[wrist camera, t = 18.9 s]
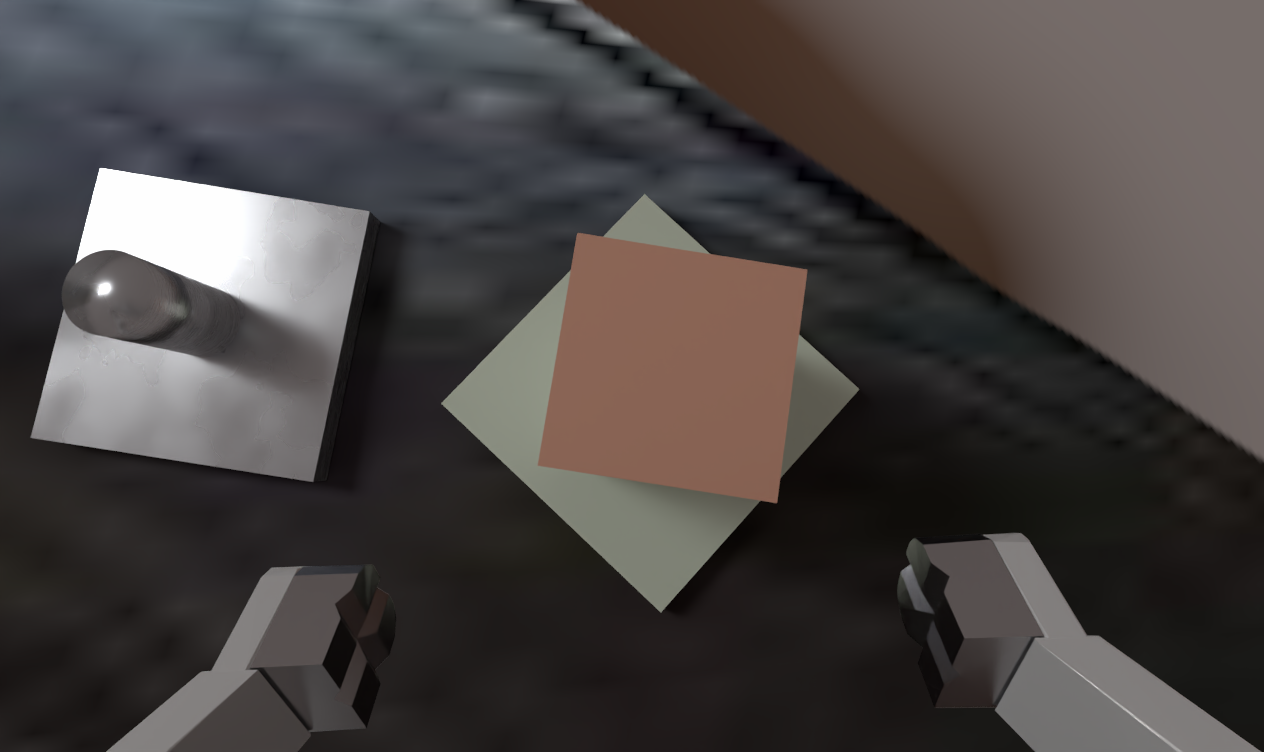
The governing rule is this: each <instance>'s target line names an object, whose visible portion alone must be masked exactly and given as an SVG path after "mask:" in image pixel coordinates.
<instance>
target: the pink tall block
mask: <svg viewBox="0 0 1264 752" xmlns="http://www.w3.org/2000/svg"><path fill="white" fill-rule="evenodd" d="M806 276H807V270H806V269H800V268H794V267H787V266H781V265H775V264H769V263H762V262H756V261H750V260H744V259H737V258H731V257H725V256H719V255H713V254H706V253H700V252H694V251H688V250H681V249H675V248H669V247H663V246H656V245H650V244H644V243H638V242H632V241H625V240H619V239H613V238H607V237H600V236H594V235H588V234H582V233H577V238H576V243H575V249H574V255H573V261H572V267H571V273H570V279H569V284H568V290H567V296H566V302H565V308H564V314H563V320H562V325H561V331H560V337H559V343H558V349H557V355H556V360H555V366H554V372H553V378H552V384H551V390H550V396H549V401H548V407H547V413H546V419H545V425H544V431H543V437H542V442H541V448H540V454H539V460H538V466H543V467H549V468H556V469H562V470H569V471H575V472H581V473H588V474H594V475H600V476H607V477H613V478H620V479H626V480H632V481H639V482H645V483H651V484H658V485H664V486H671V487H677V488H683V489H690V490H696V491H702V492H709V493H715V494H721V495H728V496H734V497H741V498H747V499H753V500H760V501H766V502H772V503H777V500H778V492H779V484H780V477H781V469H782V461H783V453H784V446H785V438H786V430H787V423H788V415H789V407H790V400H791V392H792V384H793V376H794V369H795V361H796V353H797V346H798V338H799V330H800V323H801V315H802V307H803V300H804V292H805V284H806Z"/></svg>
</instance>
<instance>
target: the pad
mask: <svg viewBox="0 0 1264 752" xmlns="http://www.w3.org/2000/svg"><path fill="white" fill-rule="evenodd" d="M603 237H607V238H613V239H619V240H625V241H632V242H638V243H644V244H650V245H656V246H663V247H669V248H675V249H681V250H688V251H694V252H700V253H706V254H710V253H709V252H708V251H706V250H705V249H704V248H703V247H702V246H701V245H700V244H699V243H698V242H697V241H695V240H694V239H693V238H692V237H691V236H690V235H689V234H688V233H687V232H686V231H684V230H683V229H682V228H681V227H680V226H679V225H678V224H677V223H676V222H675V221H673V220H672V219H671V218H670V217H669V216H668V215H667V214H666V213H665V212H663V211H662V210H661V209H660V208H659V207H658V206H657V205H656V204H655V203H654V202H652V201H651V200H650V199H649V198H648V197H647V196H646V195H645V194H644V195H643V196H642V197H641V198H640V199H639V200H638V201H637V202H636V203H635V204H634V206H633V207H632V208H631V209H630V210H629V211H628V212H627V213H626V214H625V215H624V216H623V217H622V218H621V219H620V220H619V221H618V222H617V223H616V224H615V225H614V226H613V227H612V228H611V229H610V230H609V231H608V232H607V233H606V234H605V235H604V236H603ZM570 273H571V270H570V271H569V272H568V273H567V275H566V276H565V277H564V278H563V279H562V280H561V281H560V282H559V283H558V284H557V285H556V286H555V287H554V288H553V289H552V290H551V291H550V292H549V293H548V294H547V295H546V296H545V297H544V298H543V299H542V300H541V301H540V302H539V303H538V304H537V305H536V306H535V307H534V308H533V310H532V311H531V312H530V313H529V314H528V315H527V316H526V317H525V318H524V319H523V320H522V321H521V322H520V323H519V324H518V325H517V326H516V327H515V328H514V329H513V330H512V331H511V332H510V333H509V334H508V335H507V336H506V337H505V338H504V339H503V340H502V341H501V342H500V344H499V345H498V346H497V347H496V348H495V349H494V350H493V351H492V352H491V353H490V354H489V355H488V356H487V357H486V358H485V359H484V360H483V361H482V362H481V363H480V364H479V365H478V366H477V367H476V368H475V369H474V370H473V371H472V372H471V373H470V374H469V375H468V376H467V377H466V379H465V380H464V381H463V382H462V383H461V384H460V385H459V386H458V387H457V388H456V389H455V390H454V391H453V392H452V393H451V394H450V395H449V396H448V397H447V398H446V399H445V400H444V401H443V402H442V403H441V404H442V405H443V406H444V407H446V408H447V409H448V410H449V411H450V412H451V413H452V414H453V415H454V416H455V417H456V418H457V419H458V420H459V421H460V422H461V423H462V424H463V425H464V426H465V427H467V428H468V429H469V430H470V431H471V432H472V433H473V434H474V435H475V436H476V437H477V438H478V439H479V440H480V441H481V442H482V443H483V444H484V445H485V446H486V447H488V448H489V449H490V450H491V451H492V452H493V453H494V454H495V455H496V456H497V457H498V458H499V459H500V460H501V461H502V462H503V463H504V464H505V465H506V466H508V467H509V468H510V469H511V470H512V471H513V472H514V473H515V474H516V475H517V476H518V477H519V478H520V479H521V480H522V481H523V482H524V483H525V484H526V485H527V486H529V487H530V488H531V489H532V490H533V491H534V492H535V493H536V494H537V495H538V496H539V497H540V498H541V499H542V500H543V501H544V502H545V503H546V504H547V505H548V506H550V507H551V508H552V509H553V510H554V511H555V512H556V513H557V514H558V515H559V516H560V517H561V518H562V519H563V520H564V521H565V522H566V523H567V524H568V525H570V526H571V527H572V528H573V529H574V530H575V531H576V532H577V533H578V534H579V535H580V536H581V537H582V538H583V539H584V540H585V541H586V542H587V543H588V544H589V545H591V546H592V547H593V548H594V549H595V550H596V551H597V552H598V553H599V554H600V555H601V556H602V557H603V558H604V559H605V560H606V561H607V562H608V563H609V564H610V565H612V566H613V567H614V568H615V569H616V570H617V571H618V572H619V573H620V574H621V575H622V576H623V577H624V578H625V579H626V580H627V581H628V582H629V583H630V584H632V585H633V586H634V587H635V588H636V589H637V590H638V591H639V592H640V593H641V594H642V595H643V596H644V597H645V598H646V599H647V600H648V601H649V602H650V603H651V604H653V605H654V606H655V607H656V608H657V609H658V610H659V611H660V612H662V611H663V610H664V608H665V607H666V606H667V605H668V604H669V603H670V602H671V601H672V599H673V598H674V597H675V596H676V595H677V594H678V593H679V592H680V590H681V589H682V588H683V587H684V586H685V585H686V584H687V583H688V581H689V580H690V579H691V578H692V577H693V576H694V575H695V574H696V573H697V571H698V570H699V569H700V568H701V567H702V566H703V565H704V564H705V562H706V561H707V560H708V559H709V558H710V557H711V556H712V555H713V553H714V552H715V551H716V550H717V549H718V548H719V547H720V546H721V544H722V543H723V542H724V541H725V540H726V539H727V538H728V537H729V535H730V534H731V533H732V532H733V531H734V530H735V529H736V528H737V526H738V525H739V524H740V523H741V522H742V521H743V520H744V519H745V517H746V516H747V515H748V514H749V513H750V512H751V511H752V510H753V508H754V507H755V506H756V505H757V504H758V503H759V502H760V500H753V499H747V498H741V497H734V496H728V495H721V494H715V493H709V492H702V491H696V490H690V489H683V488H677V487H671V486H664V485H658V484H651V483H645V482H639V481H632V480H626V479H620V478H613V477H607V476H600V475H594V474H588V473H581V472H575V471H569V470H562V469H556V468H549V467H543V466H538V460H539V454H540V448H541V442H542V437H543V431H544V425H545V419H546V413H547V407H548V401H549V396H550V390H551V384H552V378H553V372H554V366H555V360H556V355H557V349H558V343H559V337H560V331H561V325H562V320H563V314H564V308H565V302H566V296H567V290H568V284H569V279H570ZM858 390H859V388H858V387H856V386H855V385H854V384H853V383H852V382H851V381H850V380H849V379H848V378H847V377H845V376H844V375H843V374H842V373H841V372H840V371H839V370H838V369H837V368H836V367H834V366H833V365H832V364H831V363H830V362H829V361H828V360H827V359H826V358H824V357H823V356H822V355H821V354H820V353H819V352H818V351H817V350H816V349H815V348H813V347H812V346H811V345H810V344H809V343H808V342H807V341H806V340H805V339H804V338H802V337H801V336H800V335H799V338H798V346H797V353H796V361H795V369H794V376H793V384H792V392H791V400H790V407H789V415H788V423H787V430H786V438H785V446H784V453H783V461H782V469H781V477H782V476H783V475H784V474H785V472H786V471H787V470H788V469H789V468H790V467H791V466H792V465H793V463H794V462H795V461H796V460H797V459H798V458H799V457H800V456H801V454H802V453H803V452H804V451H805V450H806V449H807V448H808V447H809V445H810V444H811V443H812V442H813V441H814V440H815V439H816V438H817V436H818V435H819V434H820V433H821V432H822V431H823V430H824V429H825V427H826V426H827V425H828V424H829V423H830V422H831V421H832V420H833V418H834V417H835V416H836V415H837V414H838V413H839V412H840V411H841V409H842V408H843V407H844V406H845V405H846V404H847V403H848V402H849V400H850V399H851V398H852V397H853V396H854V395H855V394H856V393H857V392H858ZM781 477H780V478H781Z"/></svg>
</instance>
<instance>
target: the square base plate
mask: <svg viewBox="0 0 1264 752" xmlns="http://www.w3.org/2000/svg"><path fill="white" fill-rule="evenodd" d="M379 225H380V221H379V220H378V219H377V218H376V217H375V216H374V215H373V214H372V213H371V212H370V211H364V210H357V209H351V208H345V207H339V206H333V205H326V204H320V203H314V202H308V201H301V200H295V199H289V198H283V197H277V196H270V195H264V194H258V193H252V192H246V191H239V190H233V189H227V188H221V187H215V186H208V185H202V184H196V183H190V182H184V181H177V180H171V179H165V178H159V177H152V176H146V175H140V174H134V173H128V172H121V171H115V170H109V169H103V168H100V171H99V175H98V179H97V183H96V187H95V190H94V194H93V198H92V202H91V206H90V210H89V214H88V218H87V221H86V225H85V229H84V233H83V237H82V241H81V245H80V249H79V252H78V256H77V260H76V264H75V265H74V266H73V267H72V268H71V270H70V271H69V273H68V274H67V276H66V278H65V281H64V284H63V288H62V304H63V308H64V311H63V314H62V318H61V322H60V326H59V330H58V334H57V338H56V342H55V345H54V349H53V353H52V357H51V361H50V365H49V369H48V373H47V376H46V380H45V384H44V388H43V392H42V396H41V400H40V404H39V407H38V411H37V415H36V419H35V423H34V427H33V431H32V435H31V438H36V439H42V440H49V441H55V442H61V443H68V444H74V445H81V446H87V447H93V448H100V449H106V450H112V451H119V452H125V453H132V454H138V455H144V456H151V457H157V458H163V459H170V460H176V461H183V462H189V463H195V464H202V465H208V466H214V467H221V468H227V469H233V470H240V471H246V472H253V473H259V474H265V475H272V476H278V477H284V478H291V479H297V480H304V481H310V482H317V481H326V480H327V477H328V472H329V467H330V462H331V457H332V452H333V448H334V443H335V438H336V433H337V428H338V423H339V419H340V414H341V409H342V404H343V399H344V394H345V390H346V385H347V380H348V375H349V370H350V365H351V361H352V356H353V351H354V346H355V341H356V336H357V331H358V327H359V322H360V317H361V312H362V307H363V302H364V298H365V293H366V288H367V283H368V278H369V273H370V269H371V264H372V259H373V254H374V249H375V244H376V239H377V235H378V230H379Z"/></svg>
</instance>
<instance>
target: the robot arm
mask: <svg viewBox="0 0 1264 752" xmlns="http://www.w3.org/2000/svg"><path fill="white" fill-rule="evenodd" d="M906 554H907V557H908V559H909V562H910V565H909V566H908V567H906V568H905V569H904V570H902V571H901V573H900V577H899V581H898V586H897V587H898V604H899V609H900V613H901V618H902V621H903V623H904V626H905V629H906V632H907V634H908V635H909V636H910V637H911V638H912V639H913V640H915V641H916V642H917V643H918V644H919V645H920V646H922V647H923V649H922V652H921V655H920V658H919V661H918V665H919V668H920V670H921V673H922V676H923V678H924V681H925V684H926V686H927V689H928V692H929V694H930V697H931V700H932V703H933V705H934V708H962V707H997V708H996V709H995V711H996V712H997V713H998V714H999V715H1000V716H1001V717H1002V718H1003V719H1004V720H1005V721H1006V722H1007V723H1008V724H1009V725H1010V726H1011V727H1012V728H1013V729H1014V730H1015V731H1016V732H1017V733H1018V734H1019V735H1020V737H1021V738H1022V739H1023V740H1024V741H1025V742H1026V743H1027V744H1028V745H1029V746H1030V747H1031V748H1032V749H1033V750H1034V751H1035V752H1261V751H1259V750H1258V749H1256V748H1255V747H1254V746H1252V745H1251V744H1249V743H1248V742H1247V741H1245V740H1244V739H1242V738H1241V737H1240V736H1238V735H1237V734H1235V733H1234V732H1233V731H1231V730H1230V729H1228V728H1227V727H1226V726H1224V725H1223V724H1221V723H1220V722H1219V721H1217V720H1216V719H1214V718H1213V717H1212V716H1210V715H1209V714H1207V713H1206V712H1205V711H1203V710H1202V709H1200V708H1199V707H1198V706H1196V705H1195V704H1193V703H1192V702H1191V701H1189V700H1188V699H1186V698H1185V697H1184V696H1182V695H1181V694H1179V693H1178V692H1177V691H1175V690H1174V689H1173V688H1171V687H1170V686H1168V685H1167V684H1166V683H1164V682H1163V681H1161V680H1160V679H1159V678H1157V677H1156V676H1154V675H1153V674H1152V673H1150V672H1149V671H1147V670H1146V669H1145V668H1143V667H1142V666H1140V665H1139V664H1138V663H1136V662H1135V661H1133V660H1132V659H1131V658H1129V657H1128V656H1126V655H1125V654H1124V653H1122V652H1121V651H1119V650H1118V649H1117V648H1115V647H1114V646H1112V645H1111V644H1110V643H1108V642H1107V641H1105V640H1104V639H1103V638H1101V637H1100V636H1087V634H1086V633H1085V631H1084V629H1083V628H1082V626H1081V625H1080V623H1079V621H1078V620H1077V618H1076V616H1075V615H1074V613H1073V611H1072V610H1071V608H1070V607H1069V605H1068V603H1067V602H1066V600H1065V598H1064V597H1063V595H1062V593H1061V592H1060V590H1059V589H1058V587H1057V585H1056V584H1055V582H1054V580H1053V579H1052V577H1051V575H1050V574H1049V572H1048V571H1047V569H1046V567H1045V566H1044V564H1043V562H1042V561H1041V559H1040V557H1039V556H1038V554H1037V553H1036V551H1035V549H1034V548H1033V546H1032V544H1031V543H1030V541H1029V539H1027V538H1026V537H1025V536H1024V535H1022V534H1021V533H1003V534H988V535H981V534H969V535H953V536H937V537H921V538H914V539H913V540H912V541H911V542H910V543H909V546H908V549H907V552H906ZM379 580H380V576H379V575H378V573H377V571H376V569H375V568H374V566H373V565H345V566H309V567H307V566H302V567H280V568H271V569H270V570H269V571H268V572H266V573H265V574H264V575H263V576H262V577H261V579H260V580H259V582H258V584H257V586H256V588H255V590H254V592H253V594H252V595H251V597H250V599H249V601H248V603H247V605H246V607H245V609H244V610H243V612H242V614H241V616H240V618H239V620H238V622H237V624H236V625H235V627H234V629H233V631H232V633H231V635H230V637H229V639H228V640H227V642H226V644H225V646H224V648H223V650H222V652H221V654H220V655H219V657H218V659H217V661H216V663H215V665H214V667H213V669H212V670H211V671H204V672H200V673H199V674H198V675H197V676H196V677H194V678H193V679H192V680H191V681H190V682H188V683H187V684H186V685H185V686H184V687H183V688H181V689H180V690H179V691H178V692H177V693H175V694H174V695H173V696H172V697H171V698H169V699H168V700H167V701H166V702H165V703H164V704H162V705H161V706H160V707H159V708H158V709H156V710H155V711H154V712H153V713H152V714H150V715H149V716H148V717H147V718H146V719H144V720H143V721H142V722H141V723H140V724H139V725H137V726H136V727H135V728H134V729H133V730H131V731H130V732H129V733H128V734H127V735H125V736H124V737H123V738H122V739H121V740H119V741H118V742H117V743H116V744H115V745H114V746H112V747H111V748H110V749H109V750H108V751H106V752H297V751H298V750H299V749H300V748H301V747H302V745H303V744H304V743H305V742H306V741H307V739H308V738H309V737H310V736H311V734H310V732H315V731H330V730H346V729H361V728H367V725H368V722H369V719H370V715H371V712H372V709H373V706H374V703H375V700H376V696H377V693H378V690H379V687H380V681H379V679H378V676H377V674H376V671H375V669H376V668H377V667H378V666H379V665H380V664H381V663H382V662H383V661H384V660H385V659H386V658H387V657H388V656H389V655H390V651H391V648H392V644H393V641H394V637H395V626H396V614H395V609H394V604H393V602H392V600H391V598H390V596H389V594H387V593H385V592H383V591H382V590H380V589H378V588H377V586H378V583H379Z"/></svg>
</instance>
